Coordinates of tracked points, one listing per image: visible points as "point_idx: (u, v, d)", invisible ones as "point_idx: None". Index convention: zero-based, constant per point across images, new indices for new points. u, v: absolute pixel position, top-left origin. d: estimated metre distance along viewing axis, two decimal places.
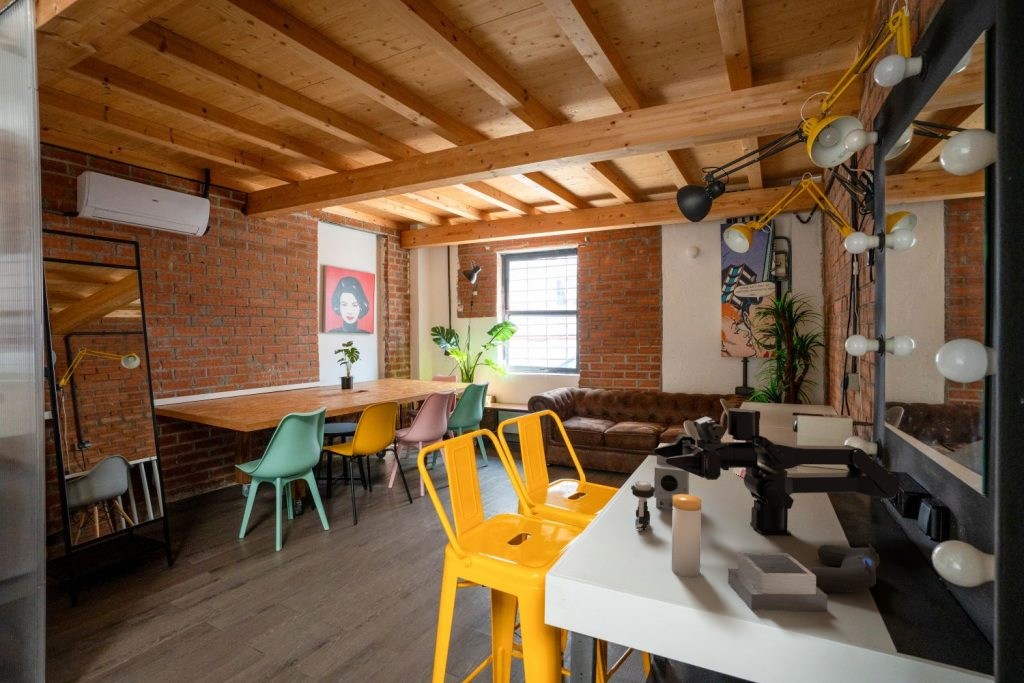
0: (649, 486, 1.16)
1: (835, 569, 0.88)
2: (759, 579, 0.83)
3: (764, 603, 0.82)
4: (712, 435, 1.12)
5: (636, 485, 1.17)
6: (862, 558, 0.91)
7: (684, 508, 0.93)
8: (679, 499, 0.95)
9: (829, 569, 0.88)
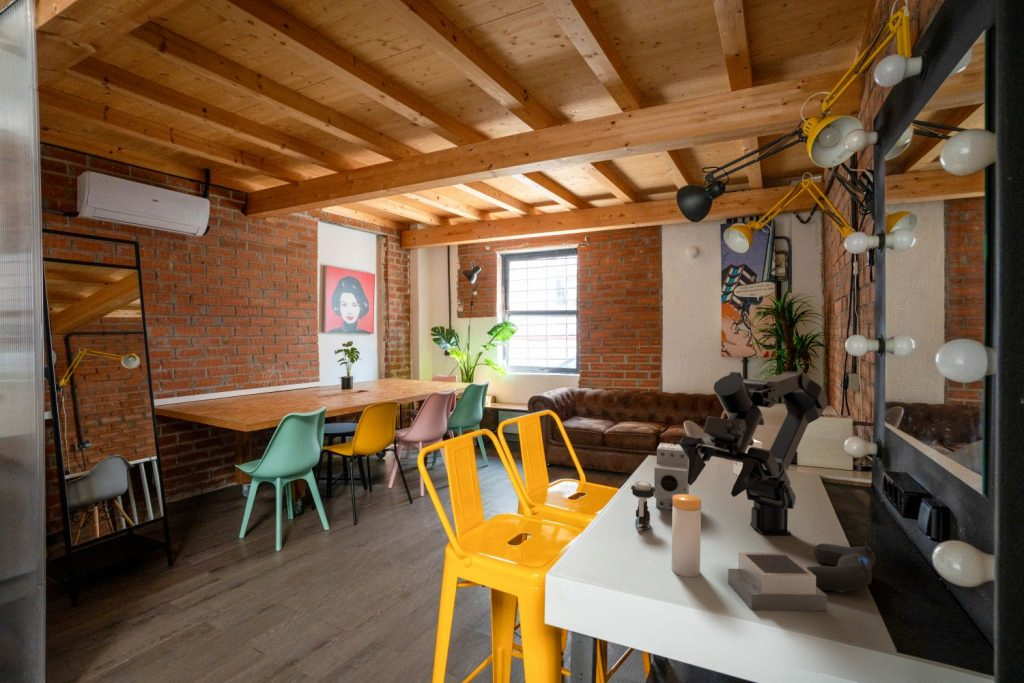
0: (649, 486, 1.16)
1: (831, 568, 0.88)
2: (759, 579, 0.83)
3: (764, 603, 0.82)
4: (741, 434, 0.99)
5: (636, 485, 1.17)
6: (858, 557, 0.92)
7: (684, 508, 0.93)
8: (679, 499, 0.95)
9: (825, 568, 0.89)
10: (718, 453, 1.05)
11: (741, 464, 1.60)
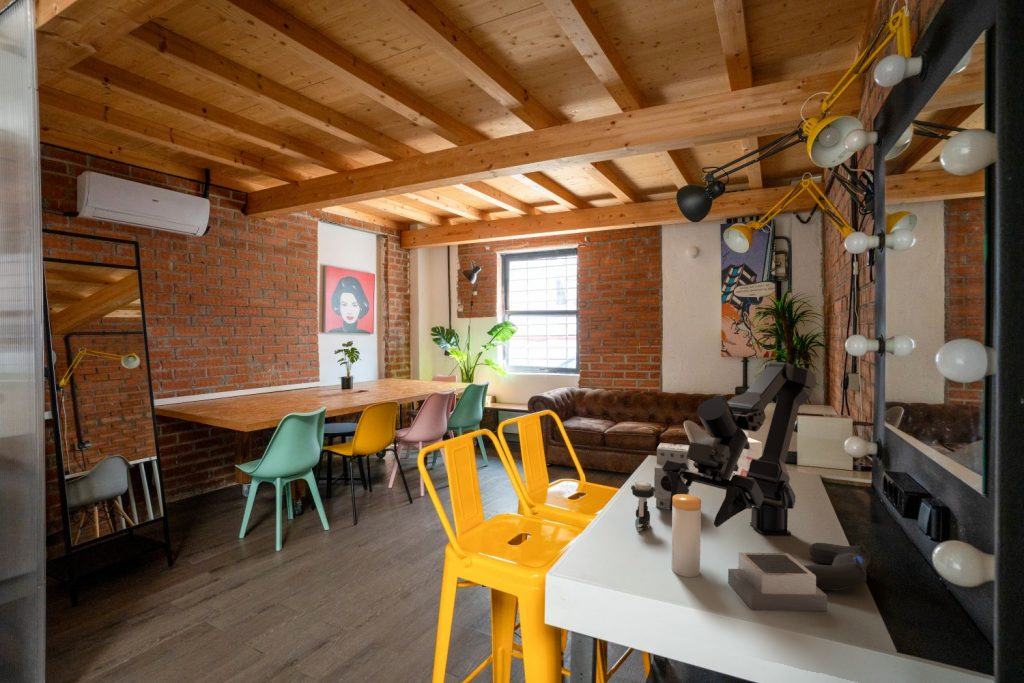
0: (649, 486, 1.16)
1: (826, 567, 0.89)
2: (759, 579, 0.83)
3: (764, 603, 0.82)
4: (724, 461, 0.96)
5: (636, 485, 1.17)
6: (853, 556, 0.92)
7: (684, 508, 0.93)
8: (679, 499, 0.95)
9: (820, 567, 0.89)
10: (701, 479, 1.01)
11: (741, 464, 1.60)
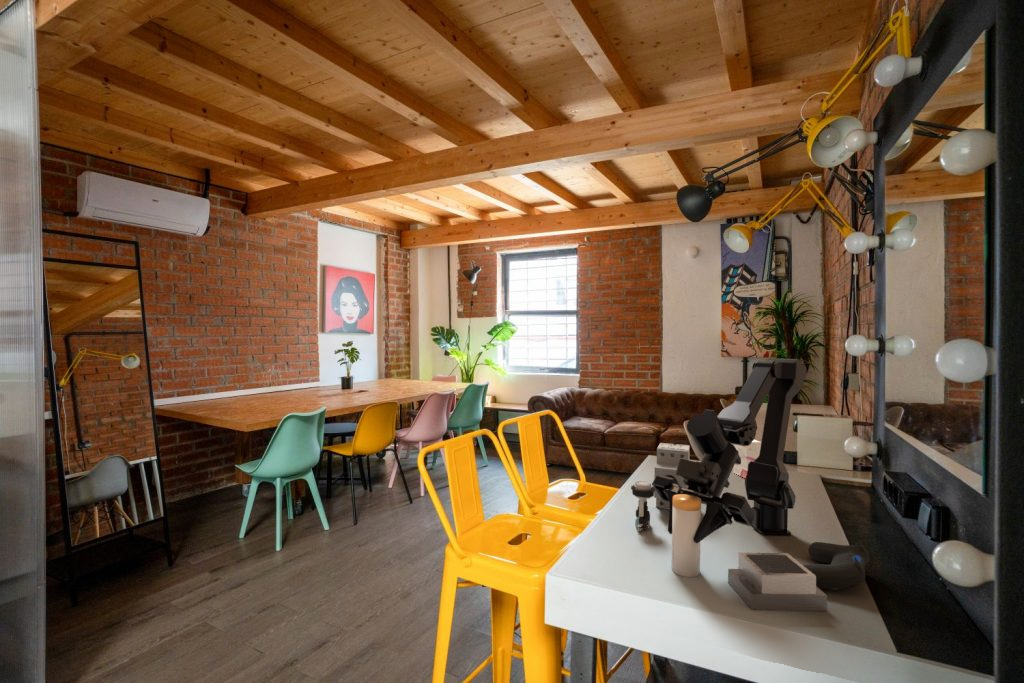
0: (649, 486, 1.16)
1: (825, 566, 0.89)
2: (759, 579, 0.83)
3: (764, 603, 0.82)
4: (714, 479, 0.93)
5: (636, 485, 1.17)
6: (852, 555, 0.92)
7: (684, 508, 0.93)
8: (679, 499, 0.95)
9: (819, 566, 0.89)
10: None
11: (741, 464, 1.60)
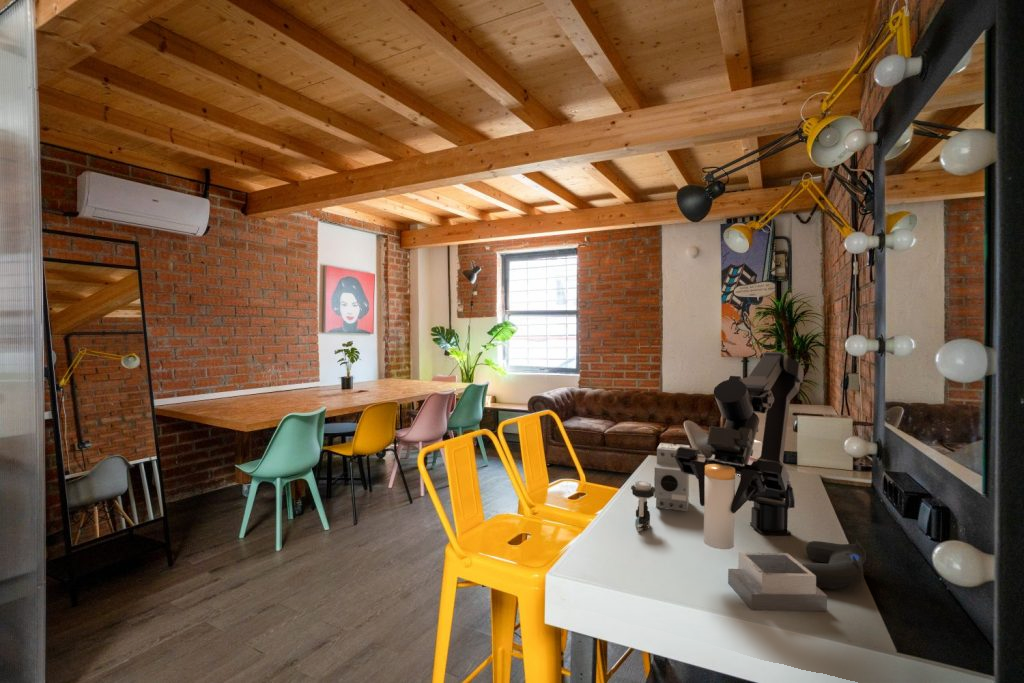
0: (649, 486, 1.16)
1: (824, 565, 0.89)
2: (759, 579, 0.83)
3: (764, 603, 0.82)
4: (749, 446, 0.90)
5: (636, 485, 1.17)
6: (849, 554, 0.93)
7: (721, 477, 0.89)
8: (713, 469, 0.90)
9: (818, 565, 0.90)
10: None
11: None
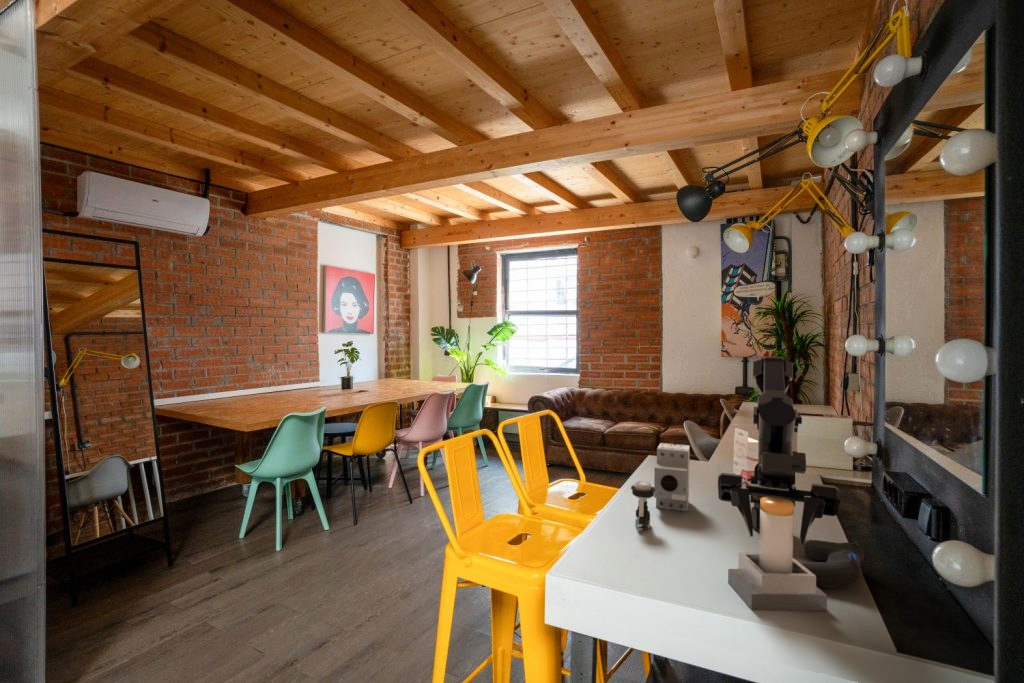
0: (649, 486, 1.16)
1: (822, 564, 0.90)
2: (759, 579, 0.83)
3: (764, 603, 0.82)
4: (804, 471, 0.86)
5: (636, 485, 1.17)
6: (847, 553, 0.93)
7: (784, 513, 0.84)
8: (774, 504, 0.85)
9: (816, 564, 0.90)
10: (766, 492, 0.91)
11: (741, 464, 1.60)
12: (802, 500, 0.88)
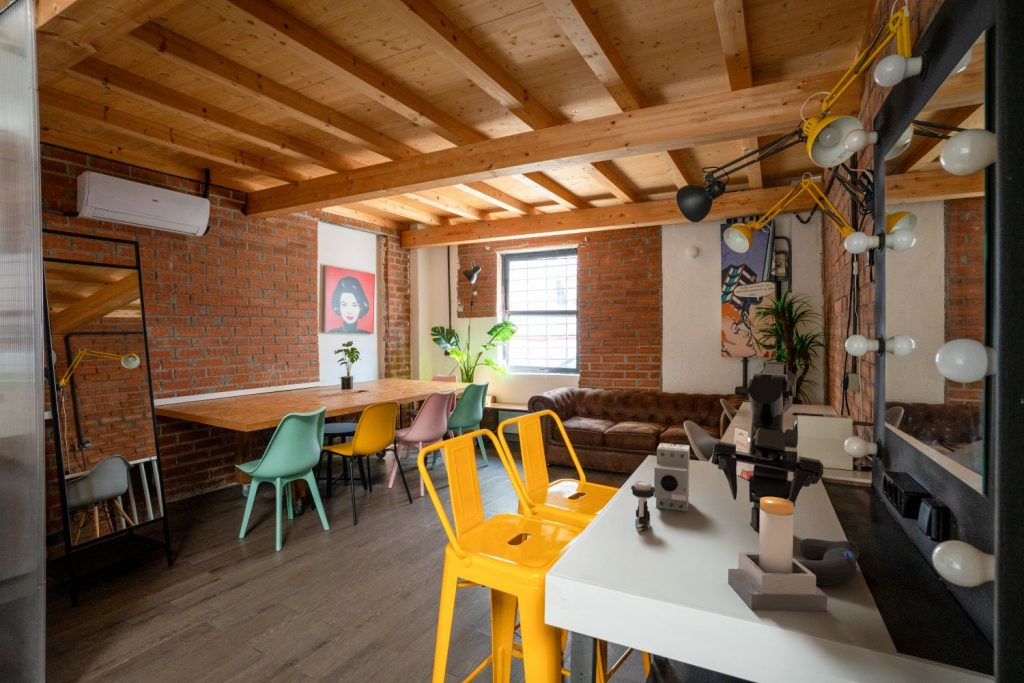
0: (649, 486, 1.16)
1: (818, 562, 0.91)
2: (759, 579, 0.83)
3: (764, 603, 0.82)
4: None
5: (636, 485, 1.17)
6: (843, 551, 0.94)
7: (783, 513, 0.84)
8: (774, 503, 0.85)
9: (812, 562, 0.91)
10: (756, 461, 0.99)
11: (741, 464, 1.60)
12: (793, 471, 0.97)
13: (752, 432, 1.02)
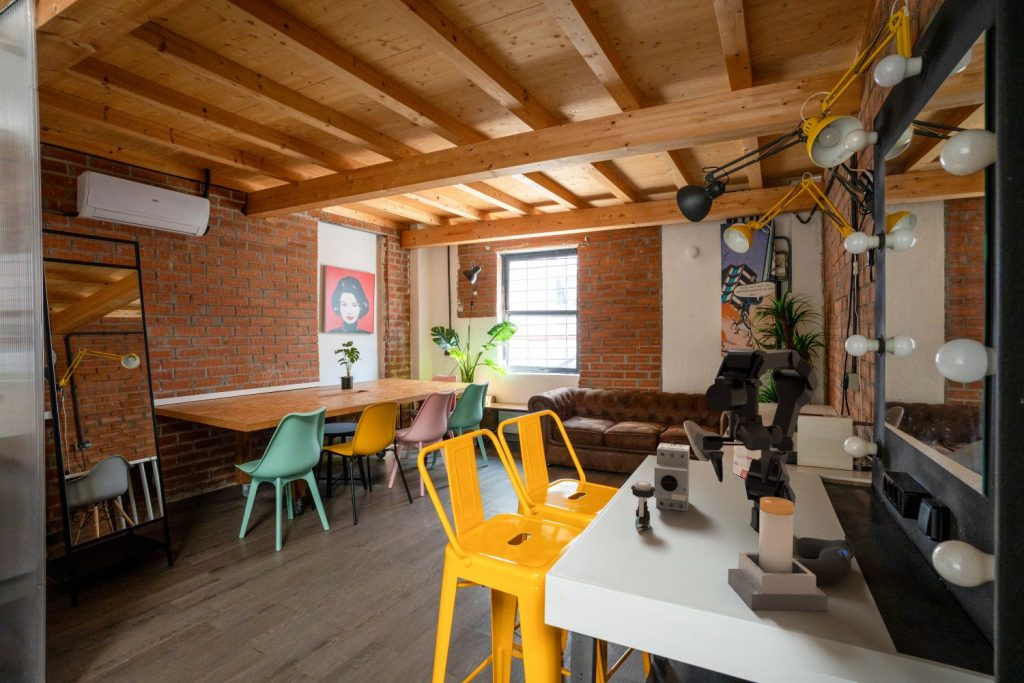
0: (649, 486, 1.16)
1: (813, 561, 0.91)
2: (759, 579, 0.83)
3: (764, 603, 0.82)
4: None
5: (636, 485, 1.17)
6: (838, 550, 0.95)
7: (783, 513, 0.84)
8: (773, 503, 0.85)
9: (807, 561, 0.92)
10: (736, 443, 1.08)
11: (741, 464, 1.60)
12: None
13: (733, 417, 1.07)
